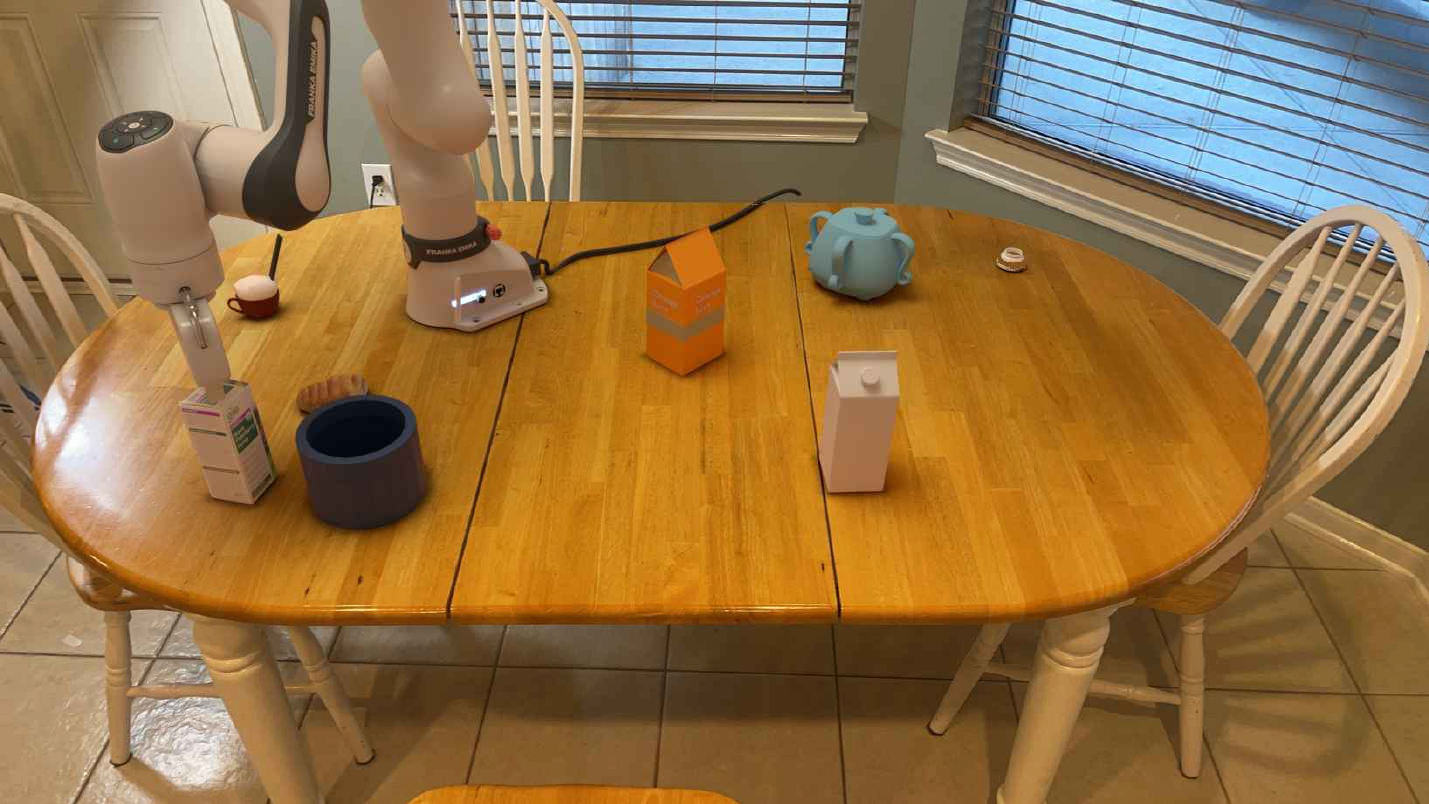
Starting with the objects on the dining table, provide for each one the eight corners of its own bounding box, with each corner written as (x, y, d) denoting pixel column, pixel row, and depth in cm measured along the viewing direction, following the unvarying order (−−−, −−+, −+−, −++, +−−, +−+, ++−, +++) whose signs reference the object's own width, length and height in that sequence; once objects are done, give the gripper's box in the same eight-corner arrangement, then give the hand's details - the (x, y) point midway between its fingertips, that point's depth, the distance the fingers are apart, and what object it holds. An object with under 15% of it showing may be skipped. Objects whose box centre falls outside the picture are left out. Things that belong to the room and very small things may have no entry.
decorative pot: (890, 260, 181) (901, 189, 173) (913, 306, 168) (926, 230, 160) (800, 262, 180) (807, 190, 172) (816, 307, 166) (824, 232, 159)
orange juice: (723, 354, 154) (728, 234, 143) (682, 376, 149) (684, 254, 137) (686, 334, 158) (689, 216, 147) (645, 355, 153) (644, 235, 141)
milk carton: (818, 458, 134) (833, 336, 123) (871, 457, 135) (890, 335, 124) (827, 493, 129) (844, 368, 118) (882, 492, 129) (904, 367, 118)
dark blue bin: (405, 445, 134) (394, 383, 128) (442, 504, 124) (432, 440, 119) (299, 479, 127) (282, 414, 122) (329, 544, 118) (313, 478, 112)
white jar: (1023, 261, 182) (994, 258, 183) (1026, 246, 181) (998, 243, 181) (1026, 274, 178) (997, 271, 179) (1029, 259, 177) (1000, 256, 177)
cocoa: (230, 325, 156) (210, 255, 149) (235, 304, 161) (216, 236, 154) (295, 319, 158) (279, 250, 151) (299, 299, 163) (283, 231, 156)
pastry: (297, 422, 137) (291, 399, 135) (298, 395, 142) (292, 372, 140) (370, 411, 139) (365, 388, 137) (368, 385, 145) (363, 362, 142)
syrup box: (253, 506, 123) (223, 409, 115) (209, 498, 124) (176, 401, 116) (278, 476, 128) (252, 381, 119) (236, 469, 129) (206, 374, 120)
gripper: (228, 305, 103) (258, 416, 110) (191, 227, 116) (219, 330, 124) (160, 321, 100) (195, 433, 108) (130, 238, 114) (163, 343, 121)
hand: (208, 377), depth 116 cm, fingers open, 8 cm apart
